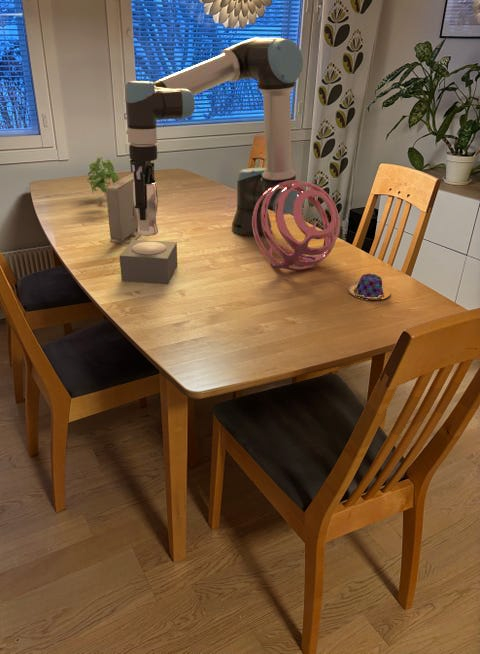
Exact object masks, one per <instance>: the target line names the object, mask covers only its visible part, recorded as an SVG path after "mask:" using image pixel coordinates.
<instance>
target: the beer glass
mask: <svg viewBox="0 0 480 654" xmlns="http://www.w3.org/2000/svg"><path fill="white" fill-rule="evenodd" d="M157 184H158V182H157V180H156V179H155V180H153V179H152V184H147V208H148V212H149V231H141V230H140V229H139V214H138V208H135V209H136V213H137V218H138V228H137V229H136V232H137V233H138V234H139V235H141V236H140V237H151V236H152V237H153V236H156V235H158V234H159V230H158V224H157V214H158V206H159V193H158V185H157ZM145 185H146V184H145ZM133 198H134V205H136V203H135V180H134V181H133Z"/></svg>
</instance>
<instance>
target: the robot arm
mask: <svg viewBox="0 0 480 654" xmlns="http://www.w3.org/2000/svg"><path fill="white" fill-rule="evenodd" d="M303 67H304V60H303V54H302V50H301V49H300V47H299V46H298V45H297V43H296V42H295V41H294V40H292V39H288V38H283V37H253V38H249V39H246V40H244V41H241V42H239V43H236V44H233V45H232V46H229V47H227V48H225V49H223V50H222V51H220V53H219V55H217V56H215V57H214V56H213V57H212V58H210V59H208V60H204V61H202V62H200V63H198V64H195V65H192V66H190V67H187V68H185V69H182V70H181V71H177V72H175V73H173V74H170V75H168V76H165V77H163V78H160V79H158V80H156V81H149V80H148V81H146V80H140V81H139V80H131V81H130V80H129V81H128V82H126V84H125V90H124V91H125V92H124V94H125V100H124V102H125V109H126V121H127V130H126V135H128V143H129V146H128V151H129V153H128V154H129V159H130V160H135V161H137V167H136V171H135V170H134V173H133V174H134V180H135V203H136V205H135V208H138V214H139V229H140V230H141V231H149V212H148V208H147V184H152V179H153V180H156V179H155V163H154V162H152V161H155V160H157V159H158V146H157V142H158V140H157V139H158V136H157V135H158V134H157V121H160V120H174V119H175V120H179V119H180V120H182V119H187V118H190V117H192V116H193V114H194V112H195V109H196V108H195V107H196V106H195V103H196V101H195V97H194V96H197V95H198V94H201V93H202V92H205V91H206V90H207V91H208V90H209V89H213V88H214V87H217V86H219V85H222V84H223V83H226V82H228V81H229V82H232V83H235V82H237V81H239V80H244V79H245V80H246V79H249V80H257V90H259V92H260V93H261V94H262V97H263V98H262V99H263V101H262V103H263V123H264V124H263V125H264V148H265V149H264V151H265V152H264V153H265V155H264V156H265V167H250V168H249V167H248V168H243V169H241V170H240V171H239V172H238V173H237V180H236V181H237V186H236V187H237V188H236V190H237V192H236V194H237V195H236V212H235V215H234V218H233V221H232V224H231V230H232V232H233V233H235V234H237V235H240V236H247V237H254V233H253V228H252V216H253V211H254V208H255V205H256V203H257V201H258V200H259V198H260V197H261V196H262V195H263V193H265V192H266V191H267V190H268V189H270V188H272V187H274V186H276V185H278V184H279V183H282V182H285V181H289V180H297V178H296V177H297V176H296V175H297V174H296V173H297V172H296V171H295V170H294V169H293V168H292V138H291V137H292V131H291V125H292V124H291V123H292V122H291V119H292V117H291V112H292V111H291V93H292V91H293V90H294V88H296V81H297V80H298V79H299V78H300V77H301V73H302V71H303ZM145 184H146V185H145ZM290 184H292V183H290ZM300 187H301V188H303V186H300ZM282 190H283V189H277V190H276V191H275V192H274V194H273V195H272V197H271V199H270V201H269V205H268V210H267V219H268V225H269V229H270V232H271V233H272V222H271V218H270V215H269V214H270V213H269V211H270V212H274V213H275V206H276V202H277V199H278V197H279V195H280V193H281V192H282ZM299 194H300V193H298V192H296V191H293V190H292V191H291V192H290V193H289V194H288V196H287V197H286V199H285V202H284V208H283V214H284V215H289V214H291V213H292V214H293V205H294V201H295V199H296V197H297V196H298V195H299ZM265 197H266V196H265ZM265 197H264V198H263V199H262V201H261V202H260V204H259V207H258V210H257V217H256V223H257V230H258V234H259V237H261V236H264V233H263V230H262V225H261V208H262V204H263V201H264V199H265Z"/></svg>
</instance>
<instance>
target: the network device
mask: <svg viewBox="0 0 480 654" xmlns="http://www.w3.org/2000/svg"><path fill="white" fill-rule="evenodd" d="M133 173H134V172H133ZM133 173H132V174H131V173H130V174H128V175H126V176H125V177H122V178H121V179H119V181H117V182H115V183H114V184H113V183H111V184H110V185H108V187H106V188H107V189H106V195H105V196H106V204H107V217H108V225H109V227H108V228H109V236H110V242H112V243H113V244H114V243H115V244H128V245H129V243H130V242H131V241H132V240H139V238H140V237H142V236H141V235H139V234H138V233H137V230H138V218H137V213H136V209H135V205H134V198H133V181H134V174H133ZM134 236H135V237H134ZM128 237H132V238H131V240H125V239H126V238H128Z"/></svg>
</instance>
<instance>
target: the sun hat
mask: <svg viewBox="0 0 480 654" xmlns="http://www.w3.org/2000/svg"><path fill="white" fill-rule="evenodd" d="M357 284H358V285H357ZM355 285H357V287H356V289H355V291H356V292H358V293H357V294H359V295H364V296H365V297H378V296H379V295H382V294H383V288H382V287H383V280H382V277H381V276H379V275H377V274H374V273H373V274H372V273H366V274H365V273H364V274H362V276H360V278H359V281H358V282H357V283H353V284H351V285H350V286H349V287H348V292H349V293H350V294H351V295H352V296H354V297H357V296H355V295H354V294H353V293H351V291H350V289H351V287H352V286H355ZM359 295H358V296H359ZM383 295H384V294H383ZM365 297H363V298H365ZM357 298H359V299H362V300H364V299H363V298H360V297H357ZM368 299H369V298H368ZM368 299H366V301H367V300H368ZM368 301H369V300H368Z"/></svg>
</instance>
